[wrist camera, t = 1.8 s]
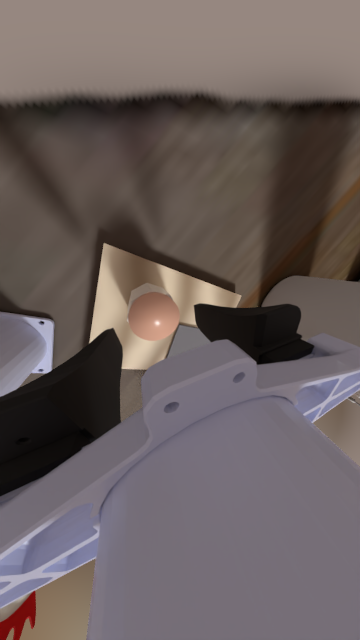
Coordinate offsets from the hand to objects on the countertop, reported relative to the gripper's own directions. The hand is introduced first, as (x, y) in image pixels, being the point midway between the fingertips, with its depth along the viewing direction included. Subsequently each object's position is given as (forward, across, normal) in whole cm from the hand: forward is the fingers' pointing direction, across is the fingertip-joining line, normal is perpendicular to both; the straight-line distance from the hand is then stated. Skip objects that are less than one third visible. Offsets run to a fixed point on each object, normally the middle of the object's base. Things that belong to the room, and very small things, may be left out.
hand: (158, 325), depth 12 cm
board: (+8, -2, +5) cm, 9 cm away
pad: (+6, -5, +10) cm, 13 cm away
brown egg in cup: (+6, 0, 0) cm, 6 cm away
